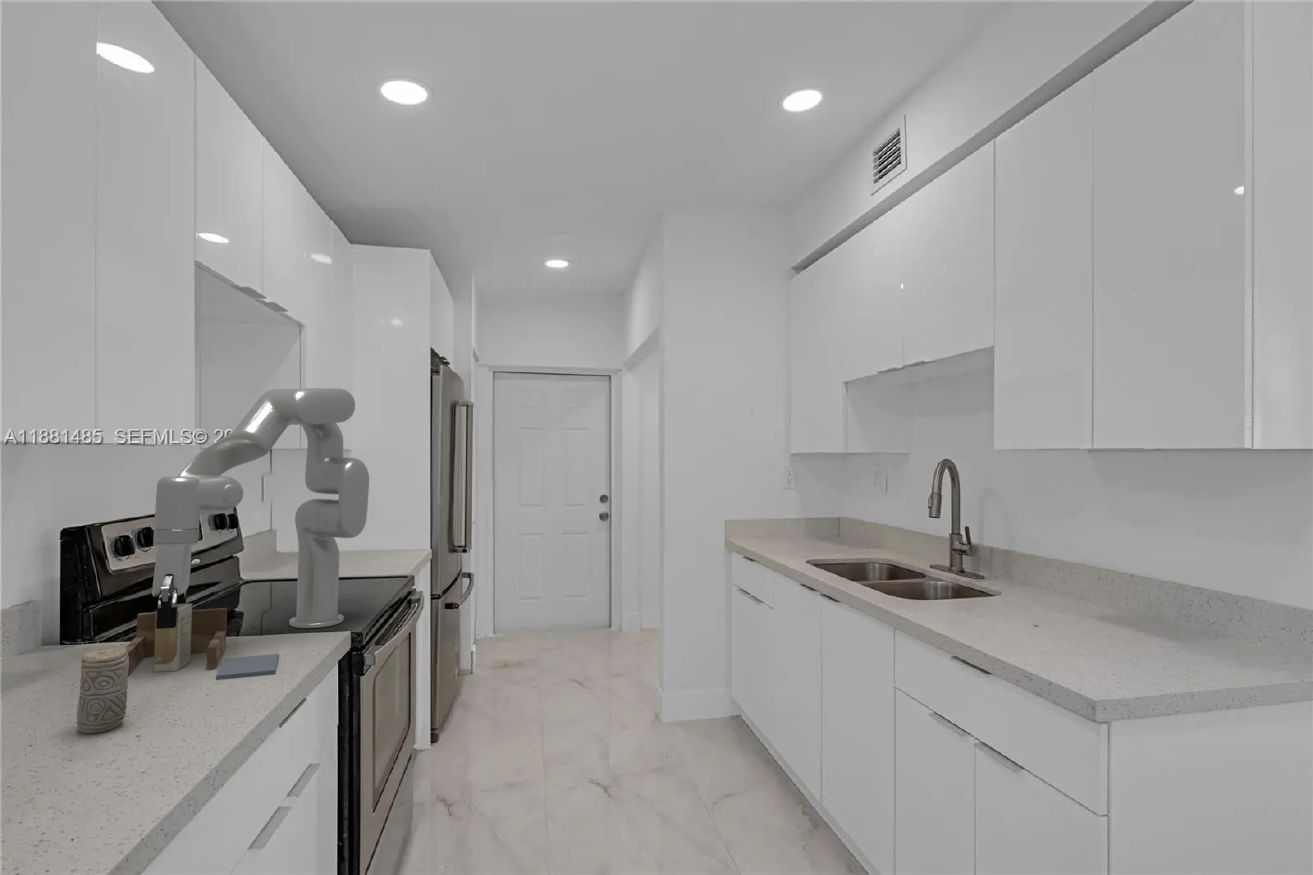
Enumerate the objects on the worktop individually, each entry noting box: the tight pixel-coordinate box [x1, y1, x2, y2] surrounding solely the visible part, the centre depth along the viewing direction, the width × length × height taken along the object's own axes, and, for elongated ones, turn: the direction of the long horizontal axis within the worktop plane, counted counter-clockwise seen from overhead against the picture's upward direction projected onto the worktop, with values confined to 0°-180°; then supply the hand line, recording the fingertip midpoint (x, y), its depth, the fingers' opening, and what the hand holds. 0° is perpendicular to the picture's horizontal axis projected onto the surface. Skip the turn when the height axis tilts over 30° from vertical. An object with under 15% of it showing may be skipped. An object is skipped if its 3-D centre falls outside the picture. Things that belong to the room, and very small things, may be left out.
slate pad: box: [215, 653, 280, 681], centre depth 143 cm, size 12×10×1 cm
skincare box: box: [153, 603, 193, 673], centre depth 142 cm, size 6×4×12 cm
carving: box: [76, 647, 129, 734], centre depth 112 cm, size 6×8×12 cm
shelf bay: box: [124, 607, 228, 677], centre depth 145 cm, size 16×16×9 cm
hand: (171, 622), depth 142 cm, fingers open, 9 cm apart
